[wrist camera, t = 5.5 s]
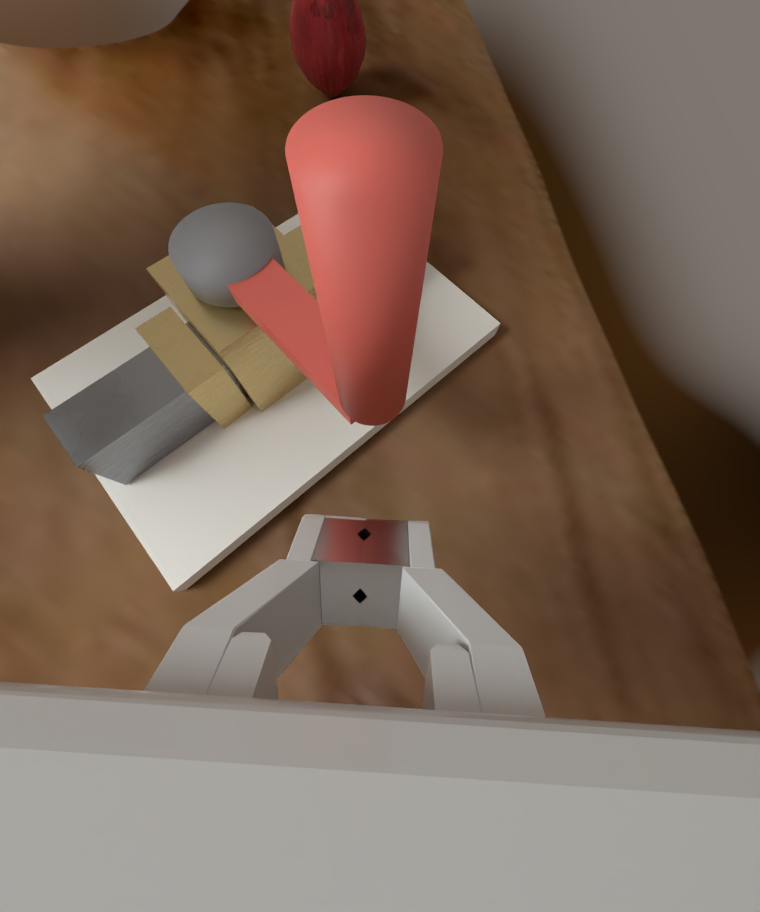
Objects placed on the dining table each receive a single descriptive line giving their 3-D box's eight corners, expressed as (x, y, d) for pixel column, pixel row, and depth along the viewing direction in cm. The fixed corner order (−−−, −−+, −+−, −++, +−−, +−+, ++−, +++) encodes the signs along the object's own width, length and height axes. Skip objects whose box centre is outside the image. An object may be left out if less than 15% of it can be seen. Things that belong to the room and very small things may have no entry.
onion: (379, 93, 32) (380, -55, 25) (338, 127, 31) (325, -20, 23) (329, 68, 33) (314, -81, 26) (287, 100, 32) (258, -48, 24)
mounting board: (185, 590, 19) (173, 591, 18) (47, 388, 23) (30, 378, 22) (494, 335, 24) (500, 323, 23) (341, 203, 28) (339, 188, 27)
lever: (166, 264, 17) (-72, -87, 8) (246, 217, 18) (113, -146, 9) (350, 467, 14) (297, 267, 5) (434, 397, 15) (519, 121, 6)
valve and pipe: (152, 507, 21) (40, 472, 14) (100, 433, 22) (-24, 368, 15) (431, 297, 25) (451, 194, 18) (374, 247, 27) (373, 134, 20)
